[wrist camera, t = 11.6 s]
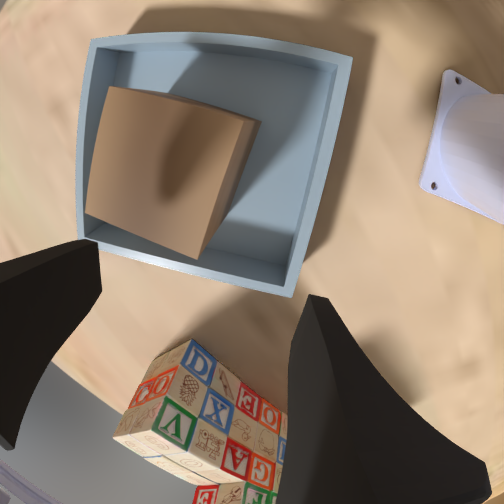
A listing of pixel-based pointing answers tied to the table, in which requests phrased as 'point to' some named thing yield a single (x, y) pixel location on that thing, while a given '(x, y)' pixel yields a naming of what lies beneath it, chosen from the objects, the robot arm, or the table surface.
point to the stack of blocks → (206, 428)
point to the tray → (260, 158)
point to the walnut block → (167, 166)
